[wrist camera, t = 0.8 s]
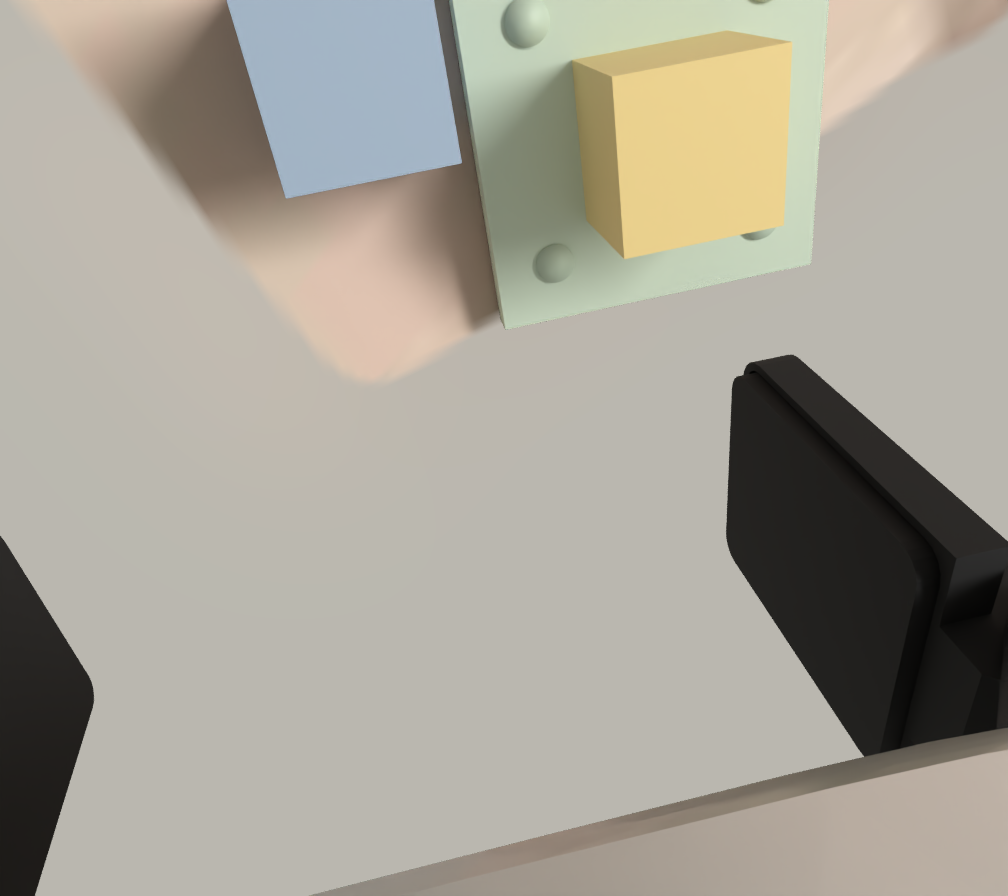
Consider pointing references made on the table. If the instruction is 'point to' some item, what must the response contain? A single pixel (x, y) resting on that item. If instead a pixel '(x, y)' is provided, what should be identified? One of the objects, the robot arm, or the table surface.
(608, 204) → the ochre brick
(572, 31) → the build plate
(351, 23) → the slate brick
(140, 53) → the table surface
